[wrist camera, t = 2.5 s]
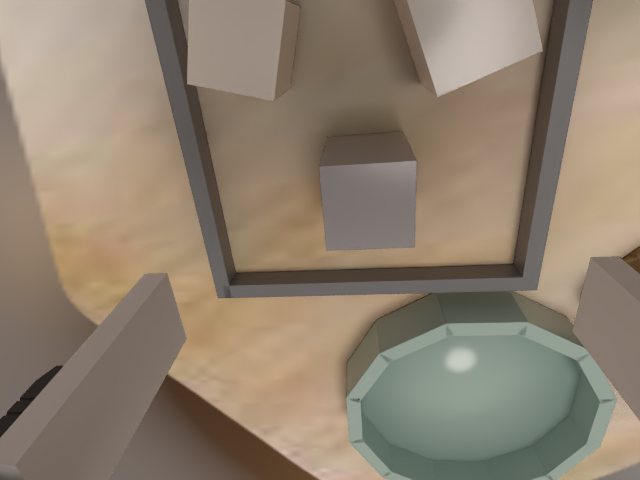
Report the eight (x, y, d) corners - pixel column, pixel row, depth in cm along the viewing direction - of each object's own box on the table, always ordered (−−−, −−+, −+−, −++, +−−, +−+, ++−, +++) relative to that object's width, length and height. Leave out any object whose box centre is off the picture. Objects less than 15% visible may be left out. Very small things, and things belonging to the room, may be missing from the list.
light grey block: (224, -8, 21) (189, -20, 16) (300, 7, 21) (285, 0, 16) (220, 74, 22) (187, 84, 18) (290, 88, 22) (273, 101, 18)
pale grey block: (393, -1, 20) (403, -10, 16) (480, -46, 19) (518, -70, 15) (421, 84, 22) (437, 97, 17) (503, 47, 21) (542, 50, 16)
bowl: (342, 293, 29) (340, 325, 25) (611, 286, 27) (645, 320, 23) (353, 455, 37) (353, 494, 34) (560, 459, 35) (581, 500, 32)
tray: (147, -48, 20) (131, -55, 19) (594, -105, 18) (615, -117, 16) (224, 285, 29) (218, 298, 28) (527, 276, 27) (536, 290, 25)
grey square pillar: (327, 136, 24) (318, 166, 18) (402, 131, 23) (416, 160, 18) (332, 205, 26) (326, 250, 20) (402, 201, 25) (414, 247, 20)
